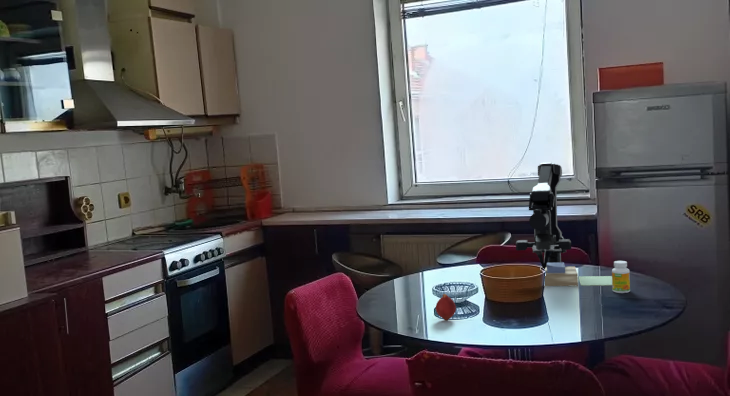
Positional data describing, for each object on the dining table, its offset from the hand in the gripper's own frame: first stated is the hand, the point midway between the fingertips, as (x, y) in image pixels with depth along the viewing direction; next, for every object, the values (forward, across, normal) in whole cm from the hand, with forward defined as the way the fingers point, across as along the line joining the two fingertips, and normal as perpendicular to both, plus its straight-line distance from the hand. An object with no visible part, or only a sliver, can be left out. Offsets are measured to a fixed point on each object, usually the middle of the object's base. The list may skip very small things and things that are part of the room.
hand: (544, 269), depth 246 cm
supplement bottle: (+5, +24, -14) cm, 28 cm away
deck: (+5, +5, 0) cm, 7 cm away
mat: (+5, +18, 0) cm, 18 cm away
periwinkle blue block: (+1, +4, 0) cm, 4 cm away
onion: (+5, -29, -49) cm, 57 cm away
